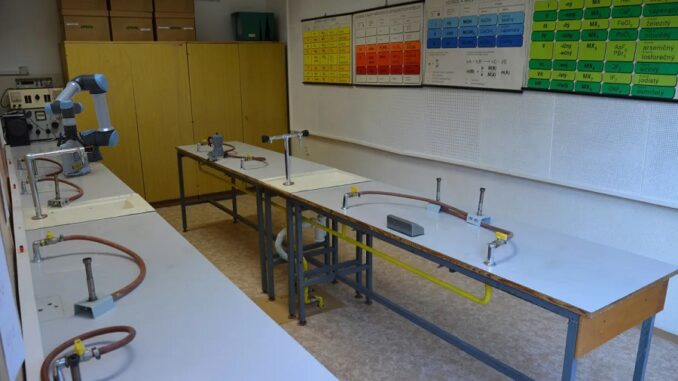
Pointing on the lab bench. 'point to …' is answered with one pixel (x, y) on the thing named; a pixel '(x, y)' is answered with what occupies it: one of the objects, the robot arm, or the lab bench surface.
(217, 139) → the coffeepot
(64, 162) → the network device
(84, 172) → the bracket
